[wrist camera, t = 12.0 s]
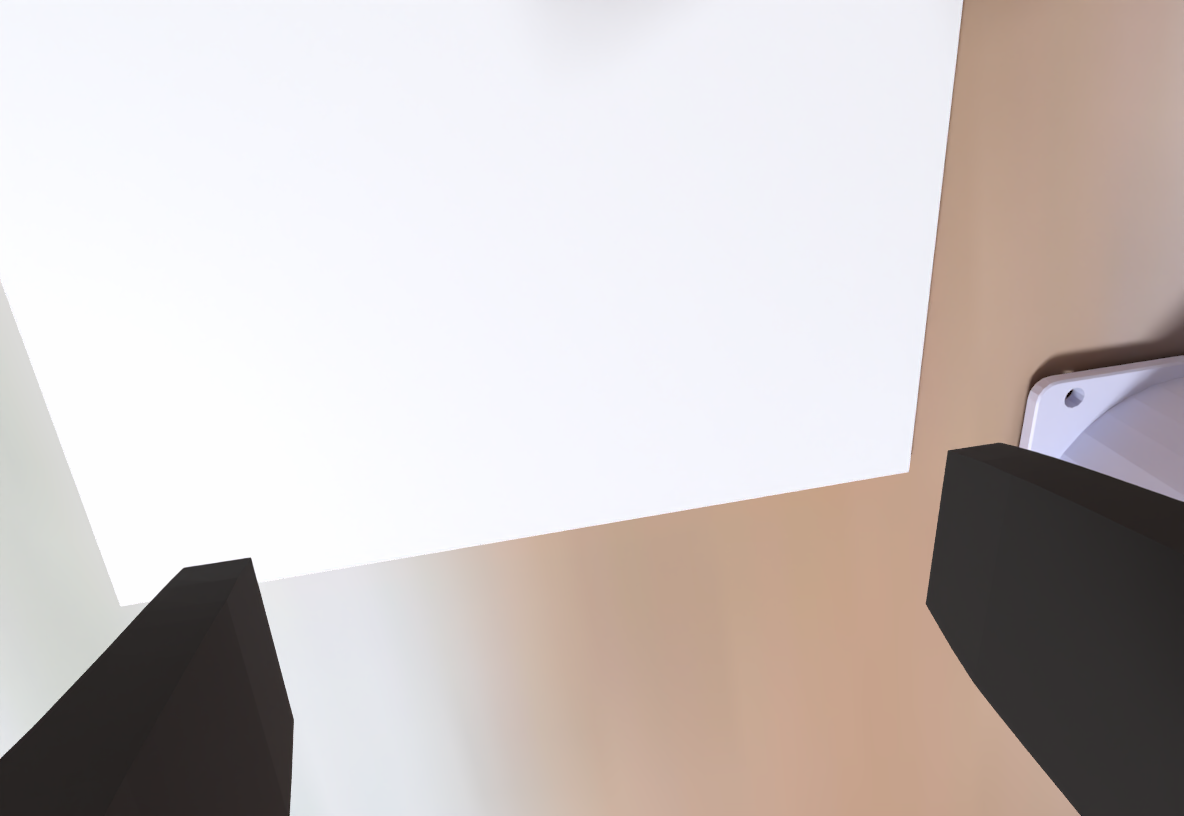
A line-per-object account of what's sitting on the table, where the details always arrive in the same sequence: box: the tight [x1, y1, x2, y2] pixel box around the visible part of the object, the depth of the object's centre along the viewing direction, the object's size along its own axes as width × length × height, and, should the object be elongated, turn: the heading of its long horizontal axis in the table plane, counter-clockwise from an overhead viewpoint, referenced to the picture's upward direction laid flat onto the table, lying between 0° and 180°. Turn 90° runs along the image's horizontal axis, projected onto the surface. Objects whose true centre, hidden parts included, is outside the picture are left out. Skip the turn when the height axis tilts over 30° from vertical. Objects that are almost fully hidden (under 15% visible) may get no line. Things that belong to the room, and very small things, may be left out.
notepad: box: [0, 0, 963, 606], centre depth 18 cm, size 18×12×1 cm, turn 93°
